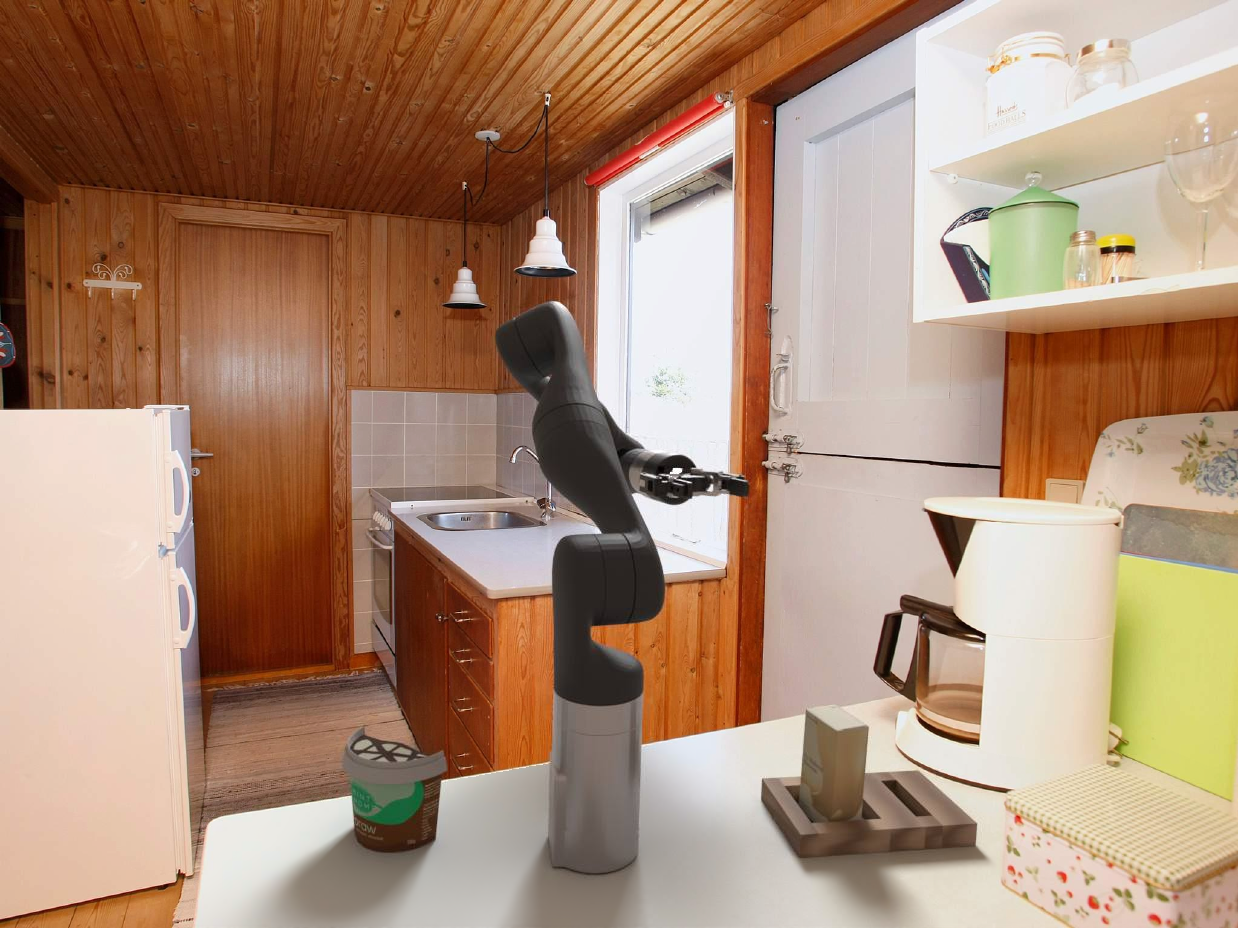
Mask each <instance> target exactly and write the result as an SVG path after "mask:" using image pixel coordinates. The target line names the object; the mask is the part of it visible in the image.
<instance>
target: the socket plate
mask: <svg viewBox="0 0 1238 928" xmlns="http://www.w3.org/2000/svg"><path fill="white" fill-rule="evenodd" d="M800 782H801V775H800V776H799V775H798V776H786V777H784V776H781V777H763V778H761V789H760V790H761V791H760V792H761V793H760V799H761V800H762V802H763V805H764V806H765V807H766V808H767V810H768V811H769V813H770V815H771V816H772V817H773V819H774V821H775V822H776V824H777V825H778V827H779V828H780V830H781V831H782V834H784V836H785V838H786V840H787V841H788V842H789V844H790V845H791V847H792V848H793V849H794V851H795V853H796V854H797V856H798V857H799V858H801V859H802V858H811V857H816V858H817V857H826V856H827V857H828V856H829V857H830V856H841V855H843V856H844V855H858V854H873V853H884V852H886V853H887V852H901V851H903V852H904V851H915V850H916V851H917V850H929V849H930V850H931V849H943V848H944V849H946V848H956V847H957V848H958V847H971V846H974V847H975V846H977V835H978V834H977V832H978V831H977V830H978V823H977V822H976V821H975V820H974V819H973V817H971V816H970V815H969V814H968V813H966V812H965V811H964V810H963V809H962V807H960V806H959V805H958V804H957V803H955V802H954V801H953V800H952V799H951V798H950V797H949V796H948V795H947V794H946V793H944V792H943V791H942V790H941V789H940V788H939V787H938V786H936V785H935V784H934V783H933V782H932V781H931V780H930V779H929V778H928V777H926V776H925V775H924V773H922V772H921V771H920V770H917V769H916V770H901V771H900V770H899V771H897V770H896V771H882V772H881V771H880V772H865V781H864V792H863V804H862V817H861V820H854V821H838V822H822V823H814V822H813V821H812V820H811V819H810V818H809V817H808V816H807V815H806V814H804V812H803V811H802V810H801V808H800V807H799V795H800Z"/></svg>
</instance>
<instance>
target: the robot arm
mask: <svg viewBox="0 0 1238 928" xmlns="http://www.w3.org/2000/svg"><path fill="white" fill-rule="evenodd" d="M494 342H495V345H496V349H497V352H498V354H499V356H500V358H501V361H502V362H503V364H504V366H505V368H506V369H507V370H508V371H509V373H510V374H511V376H512V377H513V378H514V380H516V381H517V383H519V385H520V386H521V387H522V388H523V389H524V390H526V392H528V394H530V396H532V397H533V398H534V399H535V400H536V401H537V402H538V403H537V406H536V408H535V411H534V414H533V417H532V422H531V423H532V424H531V435H532V439H533V444H534V449H535V451H536V452H535V453H536V457H537V462H538V465H539V469H540V471H541V472H542V473H543V476H544V477H545V479H546V480H547V481H548V483H550V485H551V486H552V487H553V488H554V489H555V490H556V491H557V492H558V493H559V494H560V495H561V496H563V497H564V498H565V499H566V500H568V502H570V503H571V504H573V506H575V507H576V508H577V509H579V510H580V511H581V512H582V513H584V514H585V515H586V516H587V517H588V518H590V520H591V521H592V522H593V523H594V524H595V526H596V527H597V529H598V530H599V531H600V533H581V534H580V533H579V534H569V535H565V536H563V537H562V538H560V539H559V540H558V542H557V543H556V546H555V549H554V552H553V557H552V564H551V565H552V566H551V590H552V614H553V615H552V616H553V617H552V619H553V620H552V621H553V624H552V625H553V638H552V639H553V640H552V641H553V642H552V643H553V644H552V647H553V648H552V650H553V652H552V653H553V696H552V697H553V698H552V699H553V700H552V701H553V702H552V703H553V704H552V706H553V707H552V739H551V741H552V742H551V744H552V746H551V748H552V749H551V750H550V752H549V773H548V774H549V780H548V781H549V783H548V788H549V789H548V820H547V823H548V825H547V826H548V829H547V831H548V832H547V836H548V837H547V838H548V845H549V852H550V859H551V866H552V867H553V868H567V869H569V870H572V871H575V872H578V873H585V874H586V873H587V874H605V873H610V872H615V871H617V870H620V869H623V868H624V867H626V866H628V865H629V864H631V863H632V862H633V861H634V860H635V858H636V857H637V855H638V851H639V837H640V809H641V808H640V803H641V778H642V777H641V775H642V774H641V773H642V772H641V771H642V770H641V767H642V740H643V739H642V737H643V712H644V711H643V708H644V707H643V705H644V684H645V682H644V681H645V675H644V674H645V672H644V666H643V664H642V662H641V661H640V660H639V659H638V658H637V657H635V656H634V655H632V654H631V653H629V652H626V651H624V650H621V649H618V648H614V647H611V646H607V645H604V644H601V643H599V642H598V641H595V640H593V639H592V634H591V631H592V630H591V629H592V628H593V627H604V626H618V625H619V626H620V625H632V624H633V625H634V624H638V623H645V622H649V621H651V620H654V619H655V618H656V617H657V616H658V615H659V614H660V613H661V611H662V609H663V607H664V605H665V598H666V597H665V596H666V581H665V575H664V569H663V564H662V561H661V557H660V554H659V551H658V549H657V546H656V544H655V541H654V539H653V536H652V534H651V531H650V529H649V528H648V526H647V524H646V521H645V519H644V517H643V516H642V513H641V511H640V509H639V507H638V504H637V503H636V500H635V498H634V496H633V495H634V494H639V495H641V496H643V497H645V498H647V499H650V500H653V501H656V502H659V503H663V504H666V505H669V506H679V505H683V504H684V503H686V502H688V501H689V500H691V499H692V500H693V497H701V496H705V497H707V496H708V497H719V496H720V495H729V496H736V497H739V498H747V497H749V494H750V482H749V481H748V480H746V476H745V475H743V474H736V473H731V472H725V471H723V470H720V471H715V470H713V471H712V470H704V469H703V468H698V467H697V466H696V464H695V463H694V461H693V460H692V459H691V458H689V457H688V456H687V455H684V454H682V453H677V452H676V453H675V452H671V451H670V452H669V451H664V450H659V449H658V450H657V449H656V450H650V449H649V450H648V449H646V448H645V447H644V446H643V444H642V443H641V442H639V441H638V440H636V439H634V438H633V437H632V436H630V435H629V434H627V433H626V432H625V431H624V430H622V429H621V428H620V426H619V425H618V423H616V421H615V419H614V418H613V416H612V415H611V413H610V412H609V410H608V408H607V407H606V405H604V404H603V402H601V400H599V397H598V395H597V393H596V392H597V391H596V389H595V387H594V384H593V381H592V378H591V374H590V373H591V372H590V370H589V366H588V365H589V364H588V361H587V357H586V351H585V349H584V343H583V340H582V337H581V333H580V330H579V327H578V325H577V322H576V321H575V319H574V317H573V315H572V313H571V312H570V311H569V309H568V308H567V307H566V306H565V305H563V304H562V303H561V302H559V301H556V300H555V301H554V300H551V301H547V302H544V303H543V302H542V303H541V304H538V305H536V306H534V307H533V308H530V309H528V310H526V311H525V312H522V313H520V314H519V315H516V316H515V317H513V318H511V319H509V320H507V321H506V322H504V323H502V324H501V325H499V326H498V327H497V328H496V330H495V332H494ZM549 376H550V377H549ZM711 485H712V491H711V490H709V489H710V488H711Z"/></svg>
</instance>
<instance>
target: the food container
mask: <svg viewBox="0 0 1238 928" xmlns="http://www.w3.org/2000/svg"><path fill="white" fill-rule="evenodd" d="M344 748H345V749H344V751H343V755H342V756H343V757H342V761H341V764H342V765H341V767H342V769H343V771H344V772H345V773H346V774H347V775H349V781H350V782H349V784H350V793H351V794H350V795H351V804H352V814H353V815H352V816H353V826H354V835H355V838H356V841H357V843H358V844H359V845H361V846H362V847H363V848H365V849H366V850H370V851H372V852H376V853H384V854H385V853H386V854H387V853H388V854H389V853H390V854H393V853H395V854H396V853H402V852H403V853H405V852H408V851H412V850H416V849H419V848H422V847H424V846H427V845H428V844H430V843H432V842H434V841H435V840H436V839H437V838H436V837H437V829H438V828H437V827H438V820H439V818H438V817H439V810H440V809H439V808H440V800H441V789H442V788H441V787H442V778H443V777H442V775H443V773H446V772H447V771H448V766H447V758H446V756H445V755H444V754H445V752H444V750H441V751H438V752H437V753H434V754H428V753H425V752H422V751H419V750H417V749H415V748H412V747H411V746H409V745H407V744H405V743H403V742H398V741H390V740H382V739H379V738H376V737H373V736H369V735H366V729H365V726H361V727H359V728H358V729H357V730H356V731H354V732H352V734H351V735H350V736H349V738H348V740H347V743H346V745H345V747H344Z"/></svg>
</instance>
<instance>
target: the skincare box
mask: <svg viewBox="0 0 1238 928" xmlns="http://www.w3.org/2000/svg"><path fill="white" fill-rule="evenodd" d="M804 717H805V718H804V731H803V742H802V745H803V746H802V755H801V773H800V776H801V782H800V795H799V807H800V808H801V810H802V811H803V812H804V814H806V815H807V816H808V817H809V818H810V819H811V820H812V821H813V822H814V823H822V822H838V821H854V820H861V817H862V804H863V792H864V781H865V773H866V766H867V754H868V753H867V752H868V742H869V731H870V726H869V725H868V724H866V723H865V722H864V721H862V720H860V719H859V718H857V717H856V716H855V715H854V714H852V713H850V712H849V711H847V710H845V709H844V708H842V707H841V706H840V705H838V704H836V703H834V704H829V705H821V706H820V705H819V706H813V707H807V708H805V716H804Z"/></svg>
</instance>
